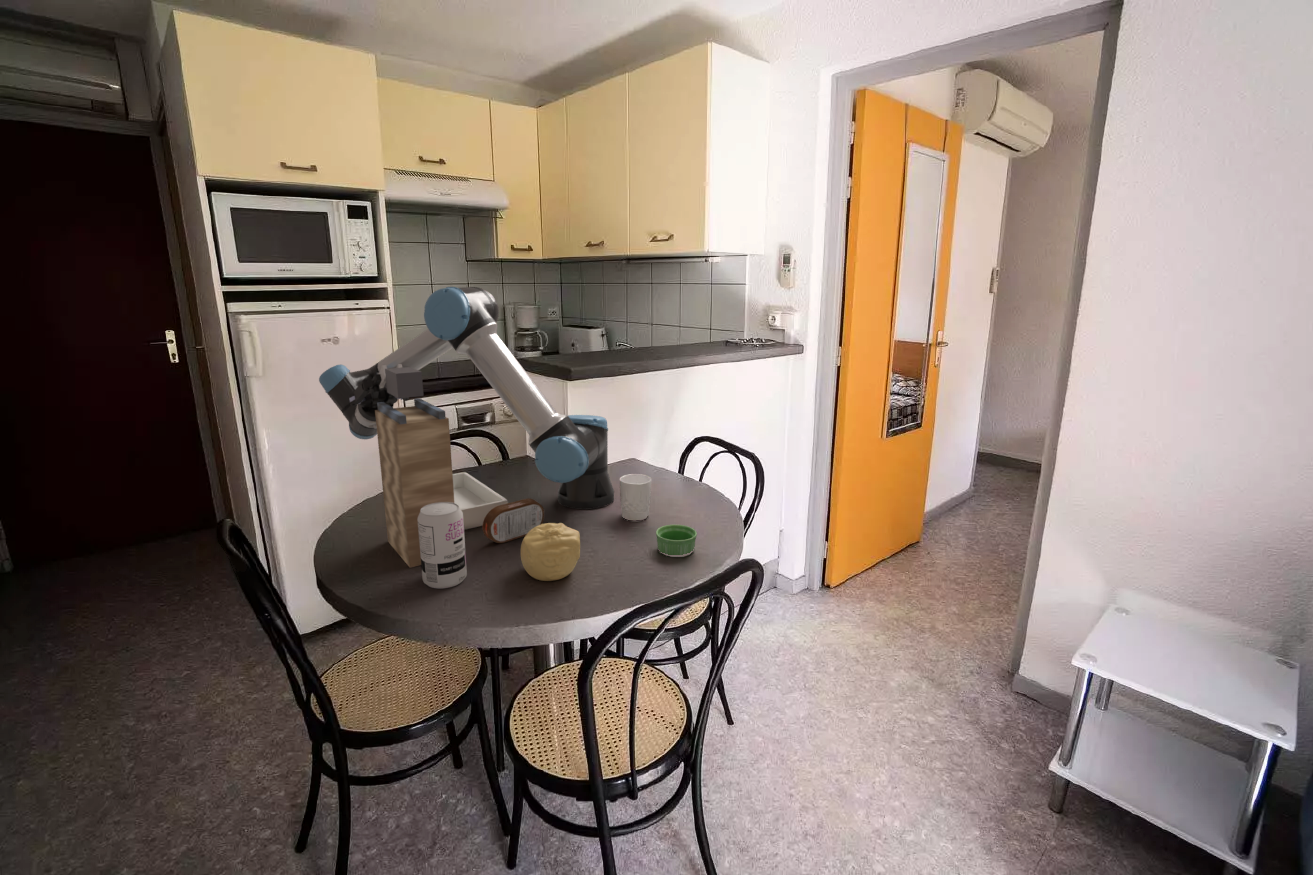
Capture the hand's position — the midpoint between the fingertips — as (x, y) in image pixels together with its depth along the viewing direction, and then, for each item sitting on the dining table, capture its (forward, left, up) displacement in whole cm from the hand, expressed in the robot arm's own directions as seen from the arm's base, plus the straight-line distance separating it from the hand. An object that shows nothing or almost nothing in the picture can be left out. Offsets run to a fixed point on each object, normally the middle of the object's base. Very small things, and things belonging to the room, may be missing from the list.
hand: (393, 370), depth 133 cm
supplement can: (-18, +20, -38) cm, 47 cm away
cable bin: (-5, -17, -38) cm, 42 cm away
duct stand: (-7, +7, -38) cm, 39 cm away
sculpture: (-38, +14, -38) cm, 56 cm away
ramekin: (-62, -1, -38) cm, 73 cm away
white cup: (-50, -19, -38) cm, 66 cm away
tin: (-25, -2, -38) cm, 46 cm away
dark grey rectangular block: (-1, +1, -4) cm, 4 cm away
